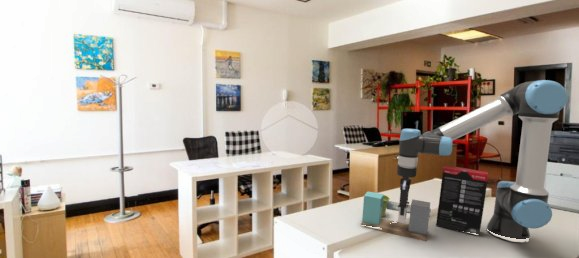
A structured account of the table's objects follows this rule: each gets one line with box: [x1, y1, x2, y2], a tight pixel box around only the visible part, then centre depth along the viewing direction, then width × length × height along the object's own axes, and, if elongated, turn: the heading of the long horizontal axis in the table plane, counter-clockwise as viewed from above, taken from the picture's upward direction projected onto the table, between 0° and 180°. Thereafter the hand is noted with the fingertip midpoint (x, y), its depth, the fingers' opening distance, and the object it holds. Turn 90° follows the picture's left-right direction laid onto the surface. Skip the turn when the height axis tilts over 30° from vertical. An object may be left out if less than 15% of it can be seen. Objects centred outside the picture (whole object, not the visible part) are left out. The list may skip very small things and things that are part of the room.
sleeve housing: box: [408, 198, 431, 237], centre depth 131 cm, size 7×7×12 cm
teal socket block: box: [361, 191, 384, 225], centre depth 139 cm, size 7×7×12 cm
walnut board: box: [360, 218, 428, 242], centre depth 136 cm, size 26×10×2 cm, turn 65°
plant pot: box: [382, 194, 390, 217], centre depth 151 cm, size 9×9×9 cm
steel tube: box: [386, 200, 432, 218], centre depth 133 cm, size 17×4×4 cm, turn 65°
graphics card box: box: [435, 164, 489, 235], centre depth 138 cm, size 17×7×27 cm, turn 59°
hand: (401, 220), depth 134 cm, fingers closed on steel tube, 3 cm apart
